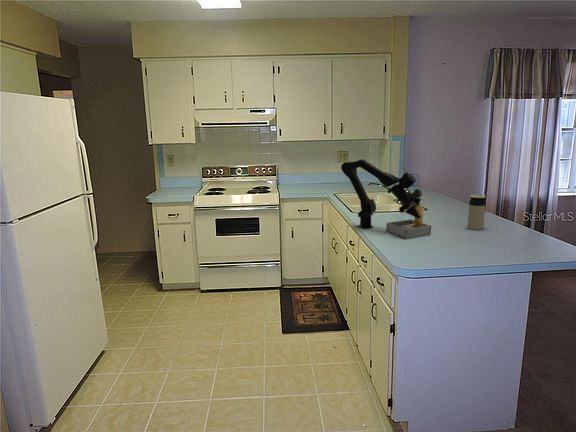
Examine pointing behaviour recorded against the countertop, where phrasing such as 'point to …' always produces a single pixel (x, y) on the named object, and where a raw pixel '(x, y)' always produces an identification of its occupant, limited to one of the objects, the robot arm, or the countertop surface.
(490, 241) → the countertop surface
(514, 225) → the countertop surface
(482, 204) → the travel mug
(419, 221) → the peg
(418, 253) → the countertop surface
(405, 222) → the bore box
